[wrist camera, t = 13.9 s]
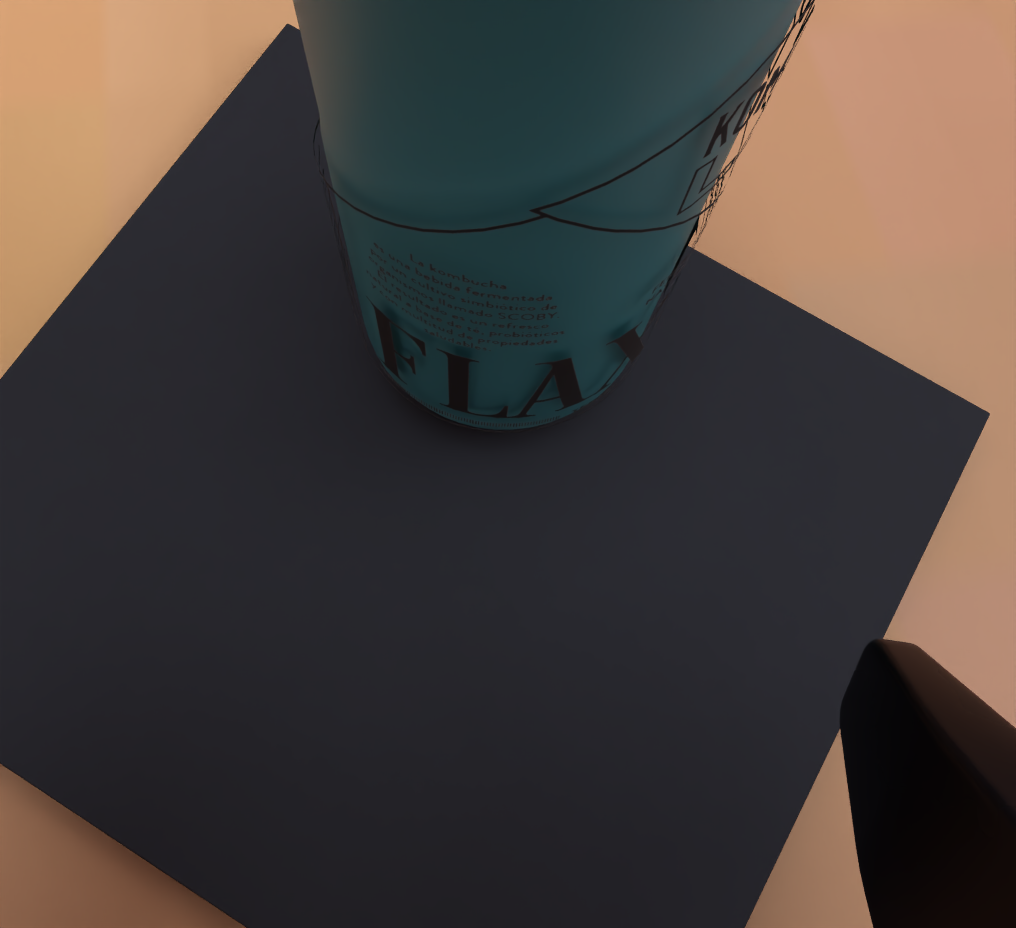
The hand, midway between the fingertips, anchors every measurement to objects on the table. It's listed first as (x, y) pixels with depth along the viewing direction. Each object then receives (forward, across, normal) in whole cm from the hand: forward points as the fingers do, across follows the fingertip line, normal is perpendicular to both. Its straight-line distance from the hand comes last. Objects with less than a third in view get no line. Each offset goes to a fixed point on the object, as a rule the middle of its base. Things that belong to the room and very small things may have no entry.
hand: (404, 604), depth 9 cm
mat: (+11, +1, +6) cm, 12 cm away
